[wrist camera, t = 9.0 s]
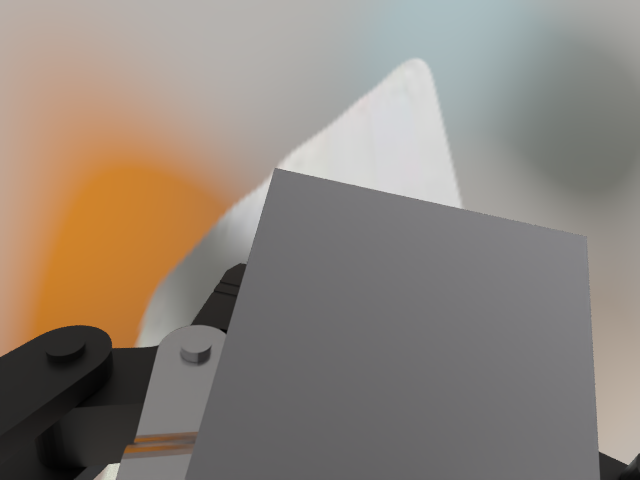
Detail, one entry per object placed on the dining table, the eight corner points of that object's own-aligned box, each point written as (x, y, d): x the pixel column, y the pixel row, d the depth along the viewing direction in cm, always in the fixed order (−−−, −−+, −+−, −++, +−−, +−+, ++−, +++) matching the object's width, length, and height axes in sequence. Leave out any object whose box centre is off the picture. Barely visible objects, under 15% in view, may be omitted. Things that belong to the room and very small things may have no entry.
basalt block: (395, 321, 14) (586, 236, 5) (379, 446, 13) (610, 655, 4) (286, 297, 14) (275, 167, 5) (257, 419, 13) (162, 557, 4)
